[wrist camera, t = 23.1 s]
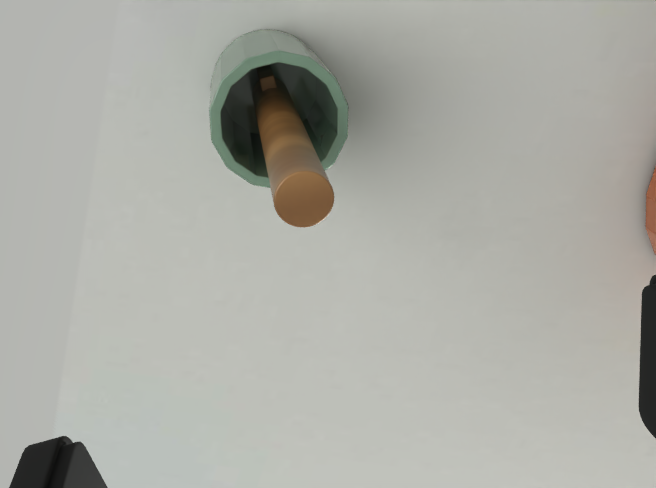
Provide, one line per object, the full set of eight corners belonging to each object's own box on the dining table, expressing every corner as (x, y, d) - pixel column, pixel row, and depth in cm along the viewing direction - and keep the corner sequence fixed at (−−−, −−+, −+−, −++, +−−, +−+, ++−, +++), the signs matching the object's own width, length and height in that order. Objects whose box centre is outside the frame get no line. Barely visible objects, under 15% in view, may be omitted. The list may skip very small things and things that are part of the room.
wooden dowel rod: (244, 70, 34) (262, 162, 20) (280, 61, 34) (323, 146, 20) (260, 126, 35) (286, 249, 21) (294, 117, 35) (343, 234, 21)
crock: (196, 45, 33) (189, 72, 26) (310, 16, 34) (334, 36, 27) (229, 152, 36) (231, 203, 29) (334, 125, 37) (361, 169, 29)
